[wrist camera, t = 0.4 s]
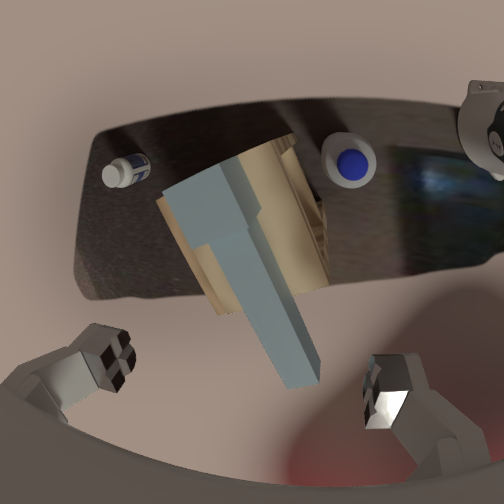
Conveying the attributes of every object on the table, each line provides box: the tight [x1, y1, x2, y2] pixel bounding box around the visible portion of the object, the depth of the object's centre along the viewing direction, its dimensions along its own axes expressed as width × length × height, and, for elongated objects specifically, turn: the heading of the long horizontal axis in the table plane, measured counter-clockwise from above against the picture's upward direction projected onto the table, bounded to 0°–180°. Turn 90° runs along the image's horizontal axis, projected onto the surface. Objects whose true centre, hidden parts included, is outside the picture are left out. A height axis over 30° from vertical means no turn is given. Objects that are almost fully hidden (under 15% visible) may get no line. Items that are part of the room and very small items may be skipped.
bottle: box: [321, 132, 376, 188], centre depth 37 cm, size 7×7×20 cm
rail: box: [162, 156, 321, 389], centre depth 26 cm, size 5×23×5 cm, turn 25°
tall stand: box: [192, 133, 330, 314], centre depth 39 cm, size 11×14×26 cm
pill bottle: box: [102, 153, 150, 188], centre depth 50 cm, size 5×5×10 cm
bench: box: [156, 196, 227, 315], centre depth 49 cm, size 8×20×14 cm, turn 25°
